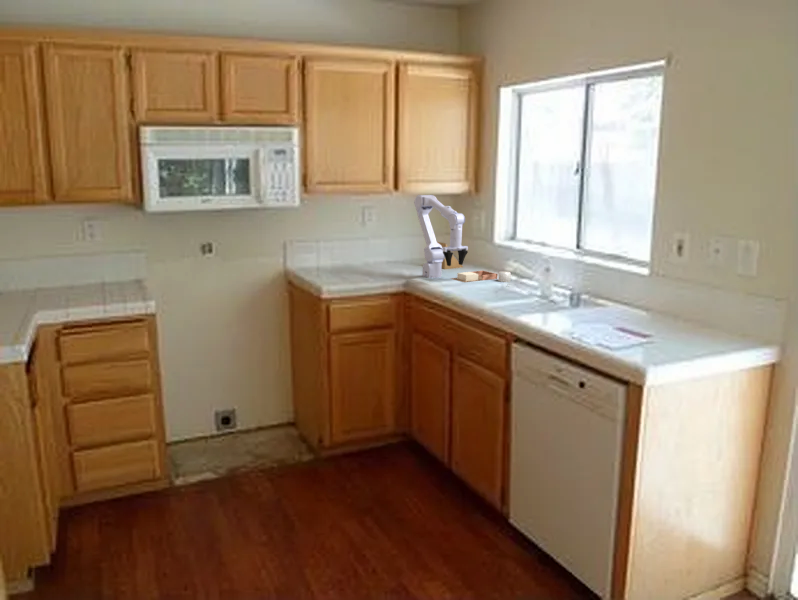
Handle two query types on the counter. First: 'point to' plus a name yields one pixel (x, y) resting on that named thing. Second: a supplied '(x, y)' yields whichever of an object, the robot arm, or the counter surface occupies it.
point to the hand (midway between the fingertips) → (454, 265)
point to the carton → (467, 276)
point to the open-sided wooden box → (481, 276)
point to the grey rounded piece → (504, 276)
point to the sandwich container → (453, 261)
